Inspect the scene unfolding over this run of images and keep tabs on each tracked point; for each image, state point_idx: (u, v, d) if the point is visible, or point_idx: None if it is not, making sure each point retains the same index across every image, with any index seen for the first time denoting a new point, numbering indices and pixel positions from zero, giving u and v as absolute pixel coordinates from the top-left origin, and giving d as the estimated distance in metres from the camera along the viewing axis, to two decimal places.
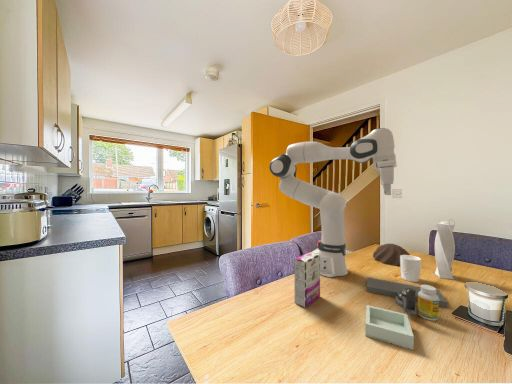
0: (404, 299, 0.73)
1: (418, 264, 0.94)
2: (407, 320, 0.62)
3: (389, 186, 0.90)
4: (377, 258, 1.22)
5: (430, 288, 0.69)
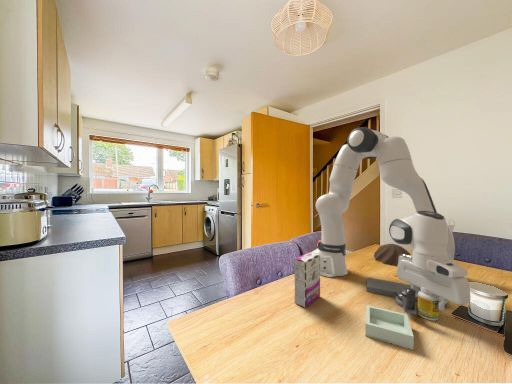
0: (404, 299, 0.73)
1: None
2: (407, 320, 0.62)
3: (447, 300, 0.65)
4: (377, 258, 1.22)
5: None
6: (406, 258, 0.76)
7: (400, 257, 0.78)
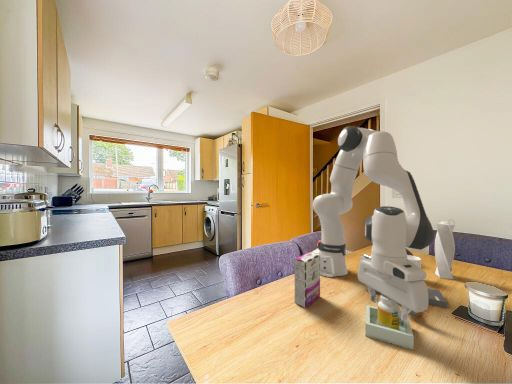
0: None
1: (418, 264, 0.94)
2: (407, 320, 0.62)
3: None
4: None
5: None
6: (367, 259, 0.69)
7: (361, 258, 0.71)
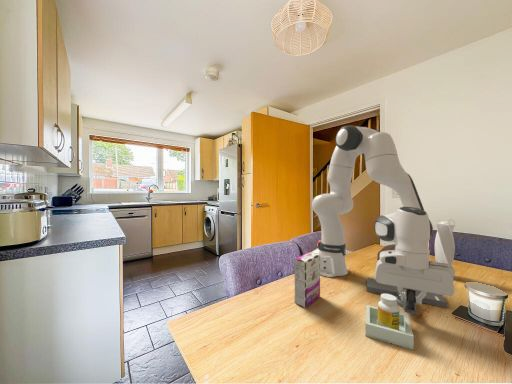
0: None
1: None
2: (407, 320, 0.62)
3: (397, 288, 0.69)
4: (379, 258, 1.22)
5: (390, 298, 0.61)
6: None
7: None
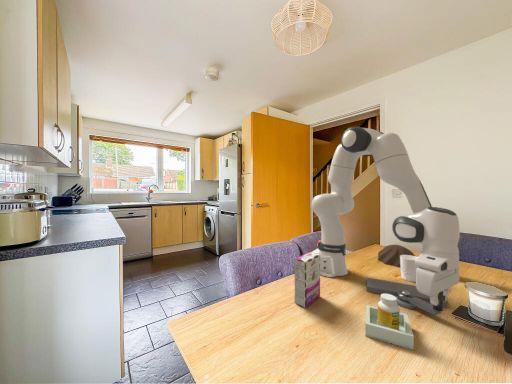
0: (417, 301, 0.72)
1: None
2: (407, 320, 0.62)
3: (434, 294, 0.65)
4: (379, 258, 1.22)
5: (390, 298, 0.61)
6: None
7: None
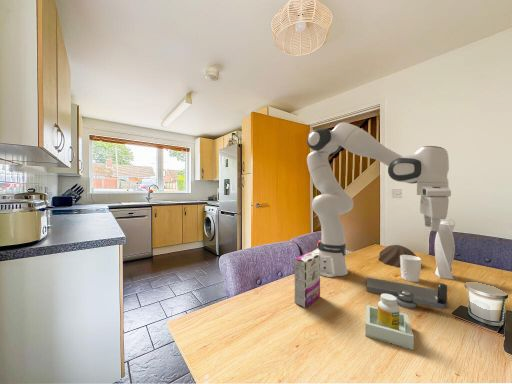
0: (421, 298, 0.74)
1: (418, 264, 0.94)
2: (407, 320, 0.62)
3: (438, 221, 0.72)
4: (380, 258, 1.22)
5: (390, 298, 0.61)
6: None
7: None
